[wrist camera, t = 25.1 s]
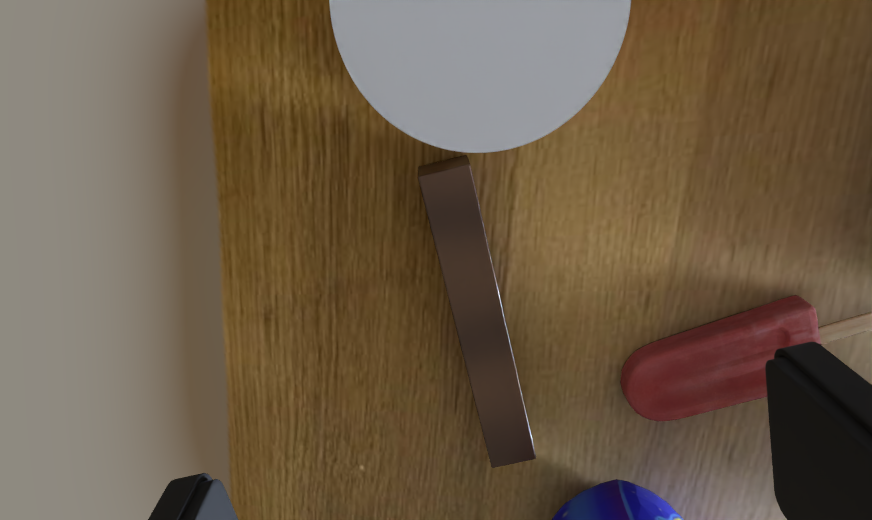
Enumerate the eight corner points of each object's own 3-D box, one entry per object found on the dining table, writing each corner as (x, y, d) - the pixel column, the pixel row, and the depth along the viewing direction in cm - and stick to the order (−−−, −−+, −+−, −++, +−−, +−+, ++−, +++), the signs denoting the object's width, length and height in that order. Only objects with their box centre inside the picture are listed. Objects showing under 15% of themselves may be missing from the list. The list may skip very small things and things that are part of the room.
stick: (418, 166, 31) (417, 176, 28) (466, 154, 31) (470, 163, 28) (487, 441, 36) (491, 468, 34) (529, 432, 36) (536, 459, 33)
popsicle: (928, 353, 32) (638, 436, 34) (904, 338, 34) (629, 418, 36) (920, 275, 31) (618, 365, 33) (895, 262, 33) (609, 349, 34)
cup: (523, -113, 27) (595, -223, 16) (568, 78, 29) (657, 103, 18) (341, -50, 28) (283, -112, 16) (400, 132, 30) (386, 187, 19)
